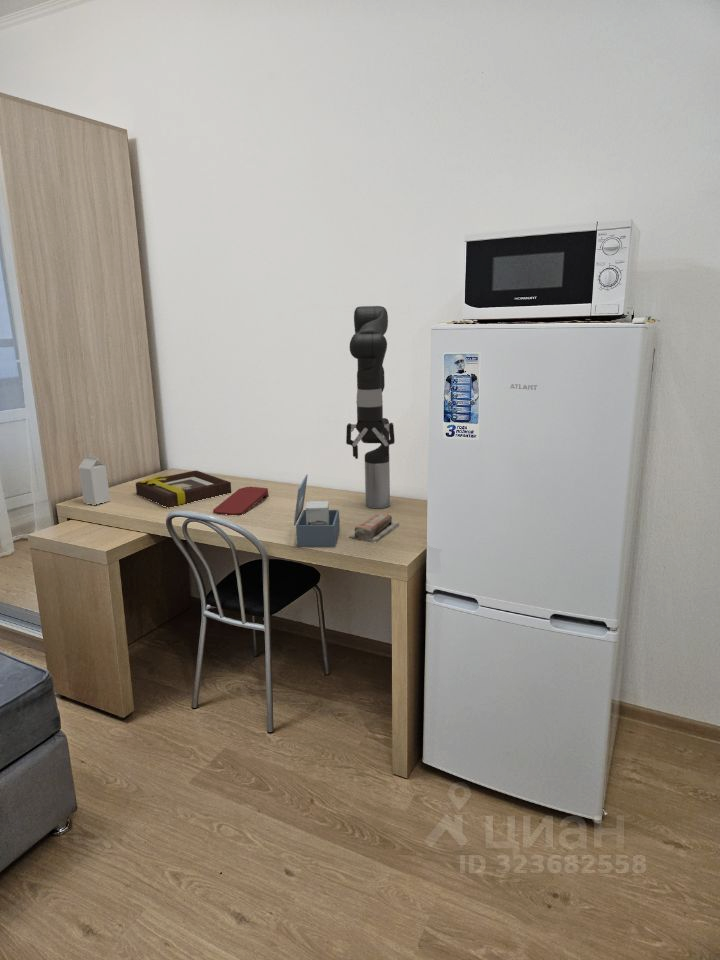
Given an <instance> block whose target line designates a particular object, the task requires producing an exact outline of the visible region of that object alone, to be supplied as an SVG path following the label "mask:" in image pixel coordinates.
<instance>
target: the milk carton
mask: <svg viewBox="0 0 720 960" xmlns="http://www.w3.org/2000/svg"><path fill="white" fill-rule="evenodd" d="M78 473H79V479H80V480H79V481H80V486H81V493H82V500H83V501H82V502H83V504H84V503H89V504H94V505H96V504H99V503H102V502H106V501H109V502H111V495H110V487H109V482H108V474H107V466H106V464H105V463H103V462H102V461H100V459H99V458H98V457H97V456H94V455H93V456H91V455H84V458H83V460H82V461H81V463H80V465H79V466H78ZM106 503H107V502H106ZM94 505H93V506H94Z"/></svg>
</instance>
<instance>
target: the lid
mask: <svg viewBox="0 0 720 960" xmlns="http://www.w3.org/2000/svg"><path fill="white" fill-rule="evenodd" d="M308 476H309V475H308V474H305V476H304V478H303V479H302V481H301V483H300V485H299V486H298V489H297V496H296V505H295V511H294V521H293V526H296V525H297V523H298V521H299V519H300V517H301V514H302V512H303V510H304V506H305V500H306V499H305V497H306V492H307V491H306V490H307V483H308Z"/></svg>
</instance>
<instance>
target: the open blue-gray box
mask: <svg viewBox="0 0 720 960" xmlns="http://www.w3.org/2000/svg"><path fill="white" fill-rule="evenodd" d="M295 529H296V534H295V535H296V547H297V548H298V547H300V548H301V547H302V548H303V547H304V548H309V547H311V548H312V547H313V548H314V547H317V548H321V547H322V548H327V547H328V548H329V547H330V548H333V547H336V544H337V541H338V537H339V534H338V533H340V531H341V530H340V509H329V525H306V509H303V510H302V512H301V515H300V517H299V519H298V521H297V523H296V525H295Z"/></svg>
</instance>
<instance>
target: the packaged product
mask: <svg viewBox="0 0 720 960" xmlns="http://www.w3.org/2000/svg"><path fill="white" fill-rule="evenodd" d="M392 519H393V515H392V514H389V513H377V514H374V515H372V516H370V517H369V518H368V519H366V520H364V521H363V522H361V523H359V524H358V525H356V526H355V527H354V532H353V533H352V534H351V535H349V539H350V538H352V540H356V539H357V541H362V540H363V541H362V542H370V543H374V542H376V543H378V542H379V541H380V540H382V539H383V538H384V537H386V536H388V535H389V534H390V533H392V532H393V531H394V530H395V529H397V528H398V527H399V526H400V522H399V521H392Z"/></svg>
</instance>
